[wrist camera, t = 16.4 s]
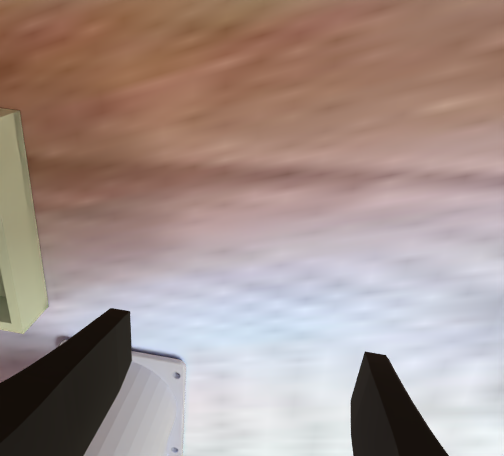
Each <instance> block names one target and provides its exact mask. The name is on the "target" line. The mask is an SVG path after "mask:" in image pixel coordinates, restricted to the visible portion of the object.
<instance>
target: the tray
mask: <svg viewBox="0 0 504 456" xmlns="http://www.w3.org/2000/svg"><path fill="white" fill-rule="evenodd" d="M47 308H48V299H47V293H46V286H45V279H44V272H43V266H42V259H41V252H40V245H39V239H38V232H37V225H36V218H35V212H34V205H33V198H32V191H31V185H30V178H29V171H28V164H27V158H26V151H25V144H24V137H23V131H22V124H21V117H20V111H18V110H11V109H4V108H0V330H5V331H10V332H16V333H21V334H24V333H25V332H26V331H27V330H28V328H29V327H30V326H31V325H32V324H33V323H34V322H35V321H36V320H37V319H38V317H39V316H40V315H41V314H42V313H43V312H44V311H45V310H46V309H47Z"/></svg>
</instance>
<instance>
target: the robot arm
mask: <svg viewBox="0 0 504 456" xmlns="http://www.w3.org/2000/svg"><path fill="white" fill-rule="evenodd" d="M175 372H177V373H179V374H177V373H175ZM185 385H186V364H185V363H184V362H183V361H182V360H179V359H174V358H168V357H162V356H157V355H151V354H146V353H140V352H134V351H132V350H131V325H130V311H125V310H119V309H113V308H111V309H109V310H108V311H106V312H105V313H104V314H102V315H101V316H100V317H98V318H97V319H95V320H94V321H93V322H91V323H90V324H89V325H87V326H86V327H85V328H83V329H82V330H81V331H79V332H78V333H77V334H75V335H74V336H73V337H71V338H70V339H68V340H63V341H62V342H61V344H60V345H59V347H57V348H56V349H54V350H53V351H52V352H50V353H49V354H47V355H46V356H44V357H42V358H41V359H39V360H38V361H36V362H35V363H33V364H32V365H30V366H29V367H27V368H26V369H24V370H22V371H21V372H19V373H17V374H16V375H14V376H12V377H11V378H9V379H7V380H5V381H3V382H2V383H0V456H183V437H184V411H185ZM351 438H352V447H353V455H354V456H449V455H448V454H447V453H446V451H445V450H444V449H443V447H442V446H441V444H440V443H439V441H438V440H437V439H436V437H435V436H434V434H433V433H432V431H431V430H430V428H429V427H428V425H427V424H426V422H425V421H424V419H423V418H422V416H421V414H420V413H419V411H418V410H417V408H416V406H415V405H414V403H413V402H412V400H411V398H410V397H409V395H408V393H407V391H406V390H405V388H404V386H403V384H402V383H401V381H400V379H399V377H398V376H397V374H396V372H395V370H394V368H393V366H392V364H391V363H390V361H389V359H388V358H387V356H386V355H382V354H376V353H370V352H365V353H364V357H363V360H362V363H361V367H360V370H359V374H358V377H357V381H356V384H355V387H354V391H353V394H352V398H351Z"/></svg>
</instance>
